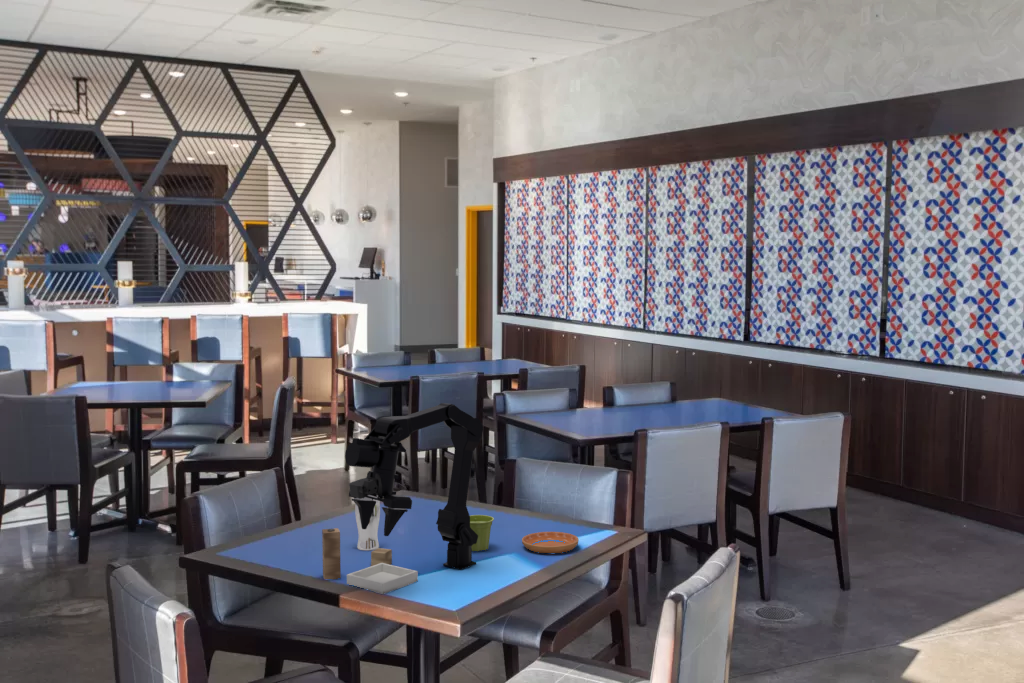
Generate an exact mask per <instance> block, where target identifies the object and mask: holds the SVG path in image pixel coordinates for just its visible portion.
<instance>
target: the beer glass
mask: <svg viewBox="0 0 1024 683" xmlns="http://www.w3.org/2000/svg"><path fill="white" fill-rule="evenodd" d="M377 496H378V495H377ZM371 500H374V499H371ZM374 501H376V504H375V507H374V510H373V513H372V516H371V518H370V521H369V524H368V526H367V528H366V529H362V526H361V520H360V514H359V509H358V506H357V505H356V504H355V503H354V504H355V506H354V507H355V508H354V513H355V521H356V525H357V526H356V527H357V532H358V534H357V535H358V541H357V545H356V546H357V549H358V550H360V551H374V550H376V549H378V548H380V545H379V544H380V543H379V540H378V539H379V538H378V531H379V524H380V516H381V503H380V502H381V501H378V500H374Z"/></svg>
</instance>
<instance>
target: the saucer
mask: <svg viewBox="0 0 1024 683" xmlns="http://www.w3.org/2000/svg"><path fill="white" fill-rule="evenodd" d="M579 539H580V538H579V537H578V536H576V535H574V534H572V533H569V532H568V533H567V532H562V531H540V532H534V533H533V532H532V533H529V534H527V535H524V536H523V537H522V538H521V541H522V545H523V546H524V547H525V548H526V549H527V550H528V549H529V550H531V551H534V552H533V553H535V552H539V553H561V554H563V553H562V552H566V553H568V552H567V551H569V552H571V551H572V550H573V549H574V548H576V547H577V546H578V544H579ZM541 540H542V541H543V540H559V541H563V542H556V541H555V542H554V541H548V542H539V543H535V542H538V541H541ZM564 542H565V543H564ZM533 543H535V544H533ZM532 544H533V545H532ZM570 550H571V551H570ZM531 551H530V552H531ZM539 553H538V554H539Z"/></svg>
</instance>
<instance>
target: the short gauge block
mask: <svg viewBox="0 0 1024 683" xmlns="http://www.w3.org/2000/svg"><path fill="white" fill-rule="evenodd" d="M370 556H371V557H370V563H371V564H370V567H371V566H374V565H377V564H380V563H385V564H389V565H392V564H393V550H392V549H391V548H383V547H379V548H378V549H375V550H371V551H370Z"/></svg>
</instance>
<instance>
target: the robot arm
mask: <svg viewBox="0 0 1024 683" xmlns="http://www.w3.org/2000/svg"><path fill="white" fill-rule="evenodd" d="M442 422H443V423H444V425H445V426H446V427H448V428H449V429H450V439H451V442H452V445H453V448H454V454H453V459H452V468H451V475H450V482H449V490H448V498H447V503H446V505H445V506H444V507H443V509H441V508H439V509H438V511H437V520H436V522H435V524H436V525H437V531H438V532H439V534H440V535H441V538H442V542H447V550H446V562H444V563H442V564H443V566H444V567H448V568H453V569H457V570H464V569H466V568H470V567H473V566H475V565H477V561H474V560H473V561H472V559H473V558H472V557H473V555H472V554H473V553H472V552H473V551H472V546H473V544H476V543H477V539H478V535H477V534H476V533H475V532H474V531H473V530H472V529H471V528H470V513H469V511H468V508H467V504H468V503H467V501H468V493H469V489H470V488H469V487H470V480H471V479H470V478H471V472H472V463H473V457H474V451H475V450H476V449H477V447H478V446H479V444H480V443H481V440H482V437H483V436H482V435H483V434H484V433H483V432H484V423H482V421H481V420H480V419H479V418H477V417H473V416H472V415H470V414H468V413H467V412H465V411H463V410H461V409H460V408H459V407H458V406H457V405H455V404H452V403H445V402H443V403H442V402H441V403H439V404H438V405H435V406H432V407H429V408H425V409H422V410H419V411H416V412H413V413H410V414H407V415H398V416H397V415H395V416H394V415H393V416H382V417H380V418H378V419H377V420H376V423H375V425H374V427H373V428H372V430H371V431H370V432H369V433H368V434H367V435H366V437H365V438H364V439H363V438H358V437H353V438H352V442H351V443H350V444H349V445H348V447H347V448H346V450H345V451H344V452H345V454H344V460H345V462H346V464H347V466H349V467H357V468H369V469H370V468H372V469H371V470H368V472H367V473H366V474H367V475H366V476H365V478H360V479H356V480H355V481H352V482H349V483H348V486H349V490H348V492H349V493H348V497H350V498H351V501H352V502H353V503H354V504H356V505H357V506H358V509H359V514H360V520H361V526H362V529H366V528H367V526H368V524H369V521H370V518H371V516H372V513H373V510H374V507H375V504H376V501H374V500H378V501H380V502H382V504H383V507H381V509H382V511H383V512H384V526H383V527H384V528H383V536H384V537H389V536H390V534H391V532H392V531H394V530H393V529H394V528H395V527H396V525H397V524H398V522H399V520H401V518H402V517H403V515H404V514H405V513H407V512H408V510H412V508H413V507H412V506H413V500H412V498H411V497H410V496H406V495H403V494H397V491H395V490H394V486H395V480H398V479H399V474H396V472H397V465H398V458H399V453H406V452H407V449H406V448H405V447H404V446H403V444H402V441H404V440H405V439H407V438H409V437H410V436H411V435H412V434H413V433H414V432H416V431H418V430H421V429H425V428H429V427H431V426H434V425H437V424H440V423H442ZM377 495H378V496H377ZM371 499H374V500H371Z"/></svg>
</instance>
